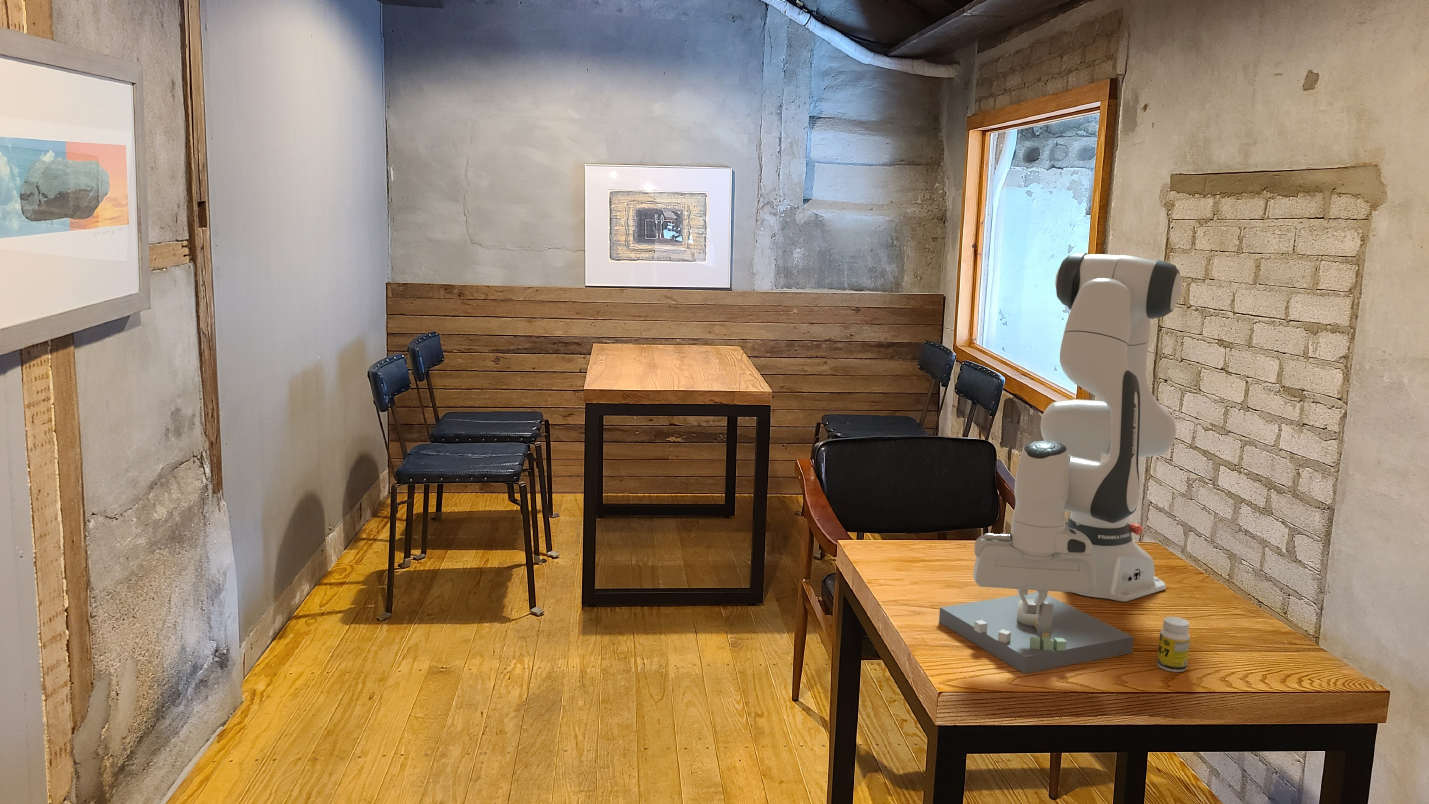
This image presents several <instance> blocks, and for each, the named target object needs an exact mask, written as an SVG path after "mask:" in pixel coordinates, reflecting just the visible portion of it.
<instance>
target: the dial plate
mask: <svg viewBox="0 0 1429 804" xmlns="http://www.w3.org/2000/svg"><path fill="white" fill-rule="evenodd" d="M1038 595H1039V594H1038V593H1037V591H1036V592H1031V593H1029V592H1028V595H1024V596H1025V598H1026V599H1036V597H1037V596H1038ZM1020 600H1022V599H1021V597H1020V595H1019V594H1017V595H1016V594H1015V595H1012V596H1011V595H1010V596H1003V597H998V598H991V599H986V600H985V599H984V600H977V601H971V602H966V603H959V604H953V605H952V604H951V605H947V606H946V605H945V606H940V607H939V614H938V617H939V618H938V623H939V624H941V625H943V626H944V627H945V628H948V629H949V630H951V631H952V632H954V633H956V634H958V635H959V636H960V637H962V638H964V639H965V640H967V641H969V642H971V643H972V644H974V645H976V646H977V647H978V648H981V649H983V650H984V651H985V652H987V653H989V654H991V655H992V656H993V657H996V658H997V659H999V660H1001V661H1003V662H1004V663H1006V664H1008V665H1009V666H1011V667H1012V668H1014V669H1015V670H1017V671H1019V672H1021V673H1022V674H1024V675H1025V674H1029V673H1036V672H1041V671H1045V670H1051V669H1057V668H1060V667H1061V668H1062V667H1067V666H1071V665H1077V664H1082V663H1087V662H1094V661H1097V660H1103V659H1107V658H1113V657H1119V656H1123V655H1127V654H1128V655H1129V654H1132V653H1133V646H1134V636H1132V635H1130V634H1129V633H1126V632H1124V631H1122V630H1120V629H1119V628H1116V627H1114V626H1112V625H1110V624H1109V623H1105V622H1104V621H1102V620H1100V619H1098V618H1096V617H1094V616H1091V615H1090V614H1087V613H1086V612H1084V611H1081V610H1080V609H1077V608H1075V607H1073V606H1072V605H1069V604H1067V603H1065V602H1063V601H1062V600H1059V599H1057V598H1055V597H1053V596H1051V595H1049V594H1047V598H1046V599H1045V600H1048V601H1052V602H1053V603H1054V609H1053V621H1052V632H1051V637H1050V638H1047V637H1042V639H1041V637H1039V636H1037V630H1036V628H1035V627H1033V626H1028V625H1025V624H1022V623H1020V622H1019V621H1018V620H1017V613H1018V602H1019V601H1020Z"/></svg>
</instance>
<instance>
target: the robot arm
mask: <svg viewBox="0 0 1429 804" xmlns="http://www.w3.org/2000/svg"><path fill="white" fill-rule="evenodd" d="M1054 283H1055V284H1054V285H1055V291H1056V292H1055V293H1056V297H1057V299H1058V300H1059V302H1060V303H1061V304H1062V305H1063V306H1066V307H1067V309H1068V310H1070V311H1069V314H1068V317H1067V320H1066V324H1065V327H1064V331H1063V335H1062V336H1063V337H1062V338H1061V339H1062V340H1061V343H1060V348H1059V349H1060V350H1059V363H1060V366H1061V368H1062V371H1063V373H1064V374H1065V376H1067V378H1068V379H1069V380H1070V381H1071V382H1072V383H1073V384H1075V385H1076V386H1078V387H1080V388H1081V389H1083V390H1084V391H1086V392H1087V393H1090V394H1092V395H1093V396H1095V397H1097V398H1099V400H1095V399H1094V400H1093V399H1092V400H1090V399H1074V398H1073V399H1067V400H1065V399H1064V400H1060V401H1053V402H1051V403H1050V404H1049V405H1048V406H1047V407H1046V409H1045V410H1044V412H1043V413H1042V416H1041V418H1040V424H1039V426H1040V433H1041V436H1042V439H1043V440H1036V441H1032V442H1029V443H1027V444H1025V445H1024V446H1023V448H1022V449H1021V452H1020V455H1019V459H1018V463H1017V469H1016V475H1015V480H1014V490H1013V493H1014V498H1015V506H1014V510H1013V513H1012V515H1011V516H1012V517H1011V526H1010V534H1005V533H1000V534H998V533H997V534H996V533H995V534H994V533H991V532H990V533H989V532H987V533H984V535H980V536H979V537H978V538H976V540H975V542H974V550H973V551H974V552H973V553H974V555H975V561H974V567H973V574H972V575H973V580H974V582H975V583H976V584H977V586H978V587H980V588H994V589H1009V590H1010V589H1011V590H1012V589H1013V590H1017V593H1018V595H1020V597H1021V599H1022V601H1023V606H1022V611H1023V613H1025V614H1039V608H1040V605H1041V604H1042V603H1043V601H1044V600H1045V599H1046V598H1047V595H1048V593H1049V592H1058V593H1059V592H1061V593H1074V594H1077V595H1080V596H1084V597H1091V598H1099V599H1108V600H1113V601H1117V602H1129V601H1132V600H1135V599H1138V598H1141V597H1145V596H1147V595H1152V594H1155V593H1157V592H1160V591H1163V590H1166V589H1167V587H1166V583H1165V581H1163V580H1161V579H1160V578H1158V577H1157V576H1155V562H1154V560H1153V558H1152V557H1151V555H1149V553H1147V552H1146V551H1145V550H1144V549H1143V548H1141V547H1140V546H1139V545H1138V544H1137V543H1136V542H1135V541H1134V540H1133V536H1132V534H1134V535H1137V536H1140V535H1142V533H1143V529H1144V528H1143V526H1142V525H1140V524H1137V523H1131V524H1130V523H1129V522H1128V519H1129V518H1128V517H1130V516H1132V515H1133V514H1134V513H1135V512H1136V510H1137V507H1138V504H1139V501H1140V473H1139V471H1140V470H1139V458H1149V457H1156V456H1163V455H1165V454H1166V453H1167V452H1168V451H1169V450H1170V449H1171V447H1172V446H1173V444H1174V442H1175V440H1176V436H1177V435H1176V434H1177V427H1176V422H1175V419H1174V417H1173V415H1172V414H1171V413H1170V412H1169V410H1168V409H1166V407H1164V406H1163V405H1162V404H1161V403H1160V402H1158V400H1157V399H1156V398H1155V396H1154V395H1153V393H1152V392H1151V389H1150V387H1149V383H1148V379H1147V360H1148V350H1149V343H1150V333H1151V323H1152V322H1151V321H1152V320H1153V319H1154V320H1155V319H1156V318H1157V319H1159V318H1164V317H1166V316H1167V315H1169V314H1171V313H1172V312H1173V310H1174V309H1175V307H1176V306H1177V304H1178V302H1179V300H1180V298H1181V294H1182V287H1183V285H1182V279H1181V273H1180V271H1179V269H1178V267H1177V266H1176V265H1175V264H1173V263H1171V262H1168V261H1164V260H1162V259H1158V260H1153V259H1149V258H1145V257H1139V256H1135V255H1134V256H1133V255H1127V254H1120V255H1119V254H1118V255H1117V254H1104V253H1103V254H1102V253H1101V254H1093V253H1092V254H1088V253H1087V252H1076V253H1071V254H1069V255H1068V256H1066V257H1065V258H1064V259H1063V260H1062V262H1060V266H1059V267H1058V270H1057V273H1056V276H1055V282H1054ZM1106 456H1109V457H1108V460H1106V461H1101V460H1102V457H1106ZM1065 511H1066V512H1070V515H1069V516H1068V517H1067V521H1066V516H1065V515H1066V514H1065ZM1029 591H1036V592H1037V593H1038V594H1039V595H1038V596H1037V597H1036V599H1035V600H1034V601H1027V600H1026V598H1025V596H1024V595H1028V594H1029Z"/></svg>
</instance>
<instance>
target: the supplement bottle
mask: <svg viewBox="0 0 1429 804" xmlns="http://www.w3.org/2000/svg"><path fill="white" fill-rule="evenodd" d="M1189 628H1190V622H1189V621H1188V620H1186V619H1184V618H1182V617H1177V616H1167V617H1164V619H1163V623H1162V628H1161V629H1160V632H1159V641H1158V649H1157V659H1156V665H1157V666H1158V667H1159V668H1160V669H1162V670H1164V671H1167V672H1171V673H1182V672H1185V671H1186V670H1187V666H1188V659H1189V650H1190V648H1189V647H1190V642H1191V634H1190V633H1189V630H1190V629H1189Z"/></svg>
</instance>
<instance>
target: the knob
mask: <svg viewBox="0 0 1429 804" xmlns="http://www.w3.org/2000/svg"><path fill="white" fill-rule="evenodd" d="M1026 600H1027V601H1034V600H1035V599H1026ZM1022 606H1023V601H1022V600H1020V601H1019V602H1018V613H1017V620H1018V621H1019V622H1020V623H1022V624H1025V625H1028V626H1033V627H1035V628H1036V630H1037V636H1039V637H1041V639H1042V637H1047V638H1050V637H1051V632H1052V621H1053V609H1054V603H1053V602H1052V601H1048V600H1044V601H1043V603H1042V604H1041V605H1040V608H1039V614H1025V613H1023V611H1022Z"/></svg>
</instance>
